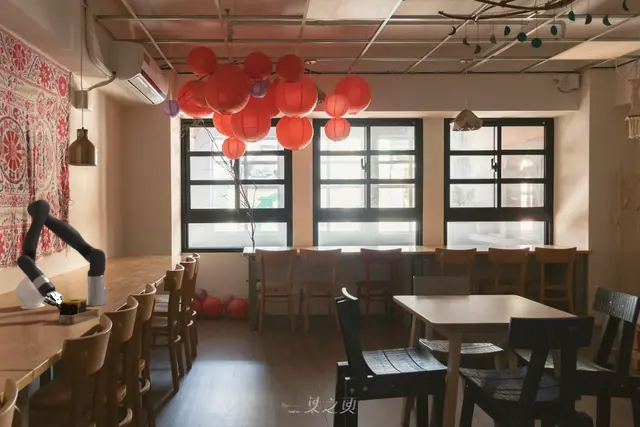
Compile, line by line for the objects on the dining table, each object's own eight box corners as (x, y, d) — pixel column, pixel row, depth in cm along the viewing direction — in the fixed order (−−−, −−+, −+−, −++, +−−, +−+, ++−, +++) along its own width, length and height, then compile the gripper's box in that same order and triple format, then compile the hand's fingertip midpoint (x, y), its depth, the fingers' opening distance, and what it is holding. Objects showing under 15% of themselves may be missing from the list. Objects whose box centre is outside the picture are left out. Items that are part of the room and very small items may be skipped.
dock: (59, 323, 286) (59, 315, 286) (84, 315, 305) (84, 308, 304) (74, 324, 284) (74, 316, 284) (98, 316, 302) (98, 309, 302)
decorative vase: (41, 302, 344) (40, 261, 344) (55, 306, 333) (54, 263, 332) (10, 307, 331) (9, 264, 330) (23, 311, 319) (22, 266, 319)
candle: (58, 321, 291) (58, 302, 290) (68, 317, 301) (67, 298, 301) (78, 321, 290) (78, 302, 290) (87, 317, 301) (86, 298, 300)
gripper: (38, 282, 292) (58, 307, 289) (57, 279, 305) (76, 303, 302) (30, 292, 294) (50, 317, 291) (49, 288, 307) (68, 312, 304)
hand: (63, 310), depth 297 cm, fingers closed
